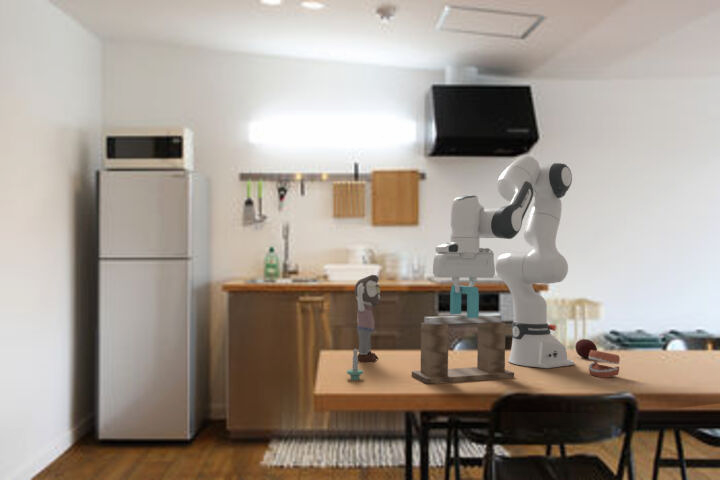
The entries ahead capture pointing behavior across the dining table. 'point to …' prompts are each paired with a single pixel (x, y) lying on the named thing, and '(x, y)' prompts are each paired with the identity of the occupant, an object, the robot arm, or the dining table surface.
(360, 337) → the figurine
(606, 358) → the dentures
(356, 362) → the screw
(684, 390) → the dining table surface
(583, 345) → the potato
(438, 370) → the shelf
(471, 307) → the teal stepped bracket
